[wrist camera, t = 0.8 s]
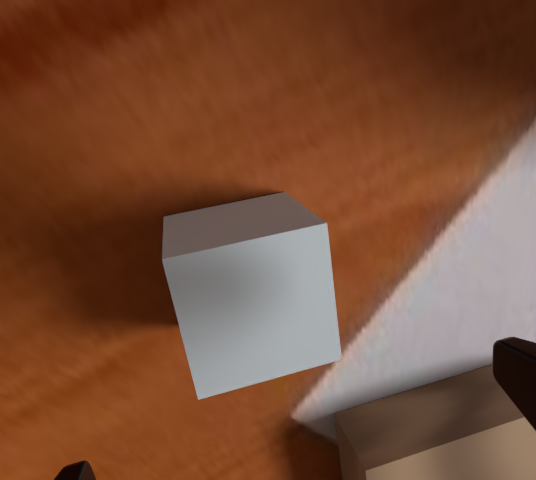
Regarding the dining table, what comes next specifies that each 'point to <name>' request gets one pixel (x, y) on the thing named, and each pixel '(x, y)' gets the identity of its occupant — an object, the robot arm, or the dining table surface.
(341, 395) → the dining table surface
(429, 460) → the brown boxy piece
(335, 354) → the grey cube
